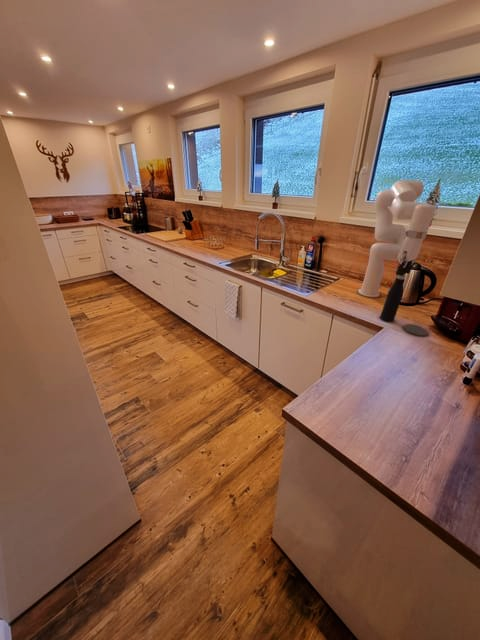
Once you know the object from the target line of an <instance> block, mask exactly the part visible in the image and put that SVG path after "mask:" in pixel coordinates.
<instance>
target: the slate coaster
mask: <svg viewBox="0 0 480 640" xmlns="http://www.w3.org/2000/svg"><path fill="white" fill-rule="evenodd" d="M403 330H404V332H406V333H408V334H410V335H413V336H416V337H426V336H427V335H428V333H429V332H428V330H427V329H426V328H425V327H422V326H420V325H417V324H412V323H411V324H410V323H409V324H408V323H407V324H404V326H403Z"/></svg>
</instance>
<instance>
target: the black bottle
mask: <svg viewBox="0 0 480 640" xmlns="http://www.w3.org/2000/svg"><path fill="white" fill-rule="evenodd" d="M404 264H405V262H404ZM410 265H411V263H409V262H407V265H406V267H405V268H406V269H405V272H404V275H403V276H400V275H397V277H396V278H395V281H394V283H393V285H392V286H391V287H390V289H389V290H388V292H387V295H386V298H385V301H384V304H383V307H382V310H381V313H380V320H381V321H384V322H386V323H393V322H394V321H395V318H396V315H397V312H398V310H399V307H400V304H401V301H402V299H403V296H404V284H405V281H406V277H407V275H406V274H407V273H406V271H408V270H409V267H410Z"/></svg>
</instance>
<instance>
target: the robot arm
mask: <svg viewBox="0 0 480 640" xmlns="http://www.w3.org/2000/svg"><path fill="white" fill-rule="evenodd" d="M423 192H424V183H423V182H422V181H420V180H415V179H414V180H413V179H411V180H410V179H400V180H397V181H395V182H394V183H393V184H392V185H391V187H390V189H383V190H380V191H379V192H378V193H377V194H376V195H375V199H374V212H375V226H374V239H375V240H376V241H378V242H376V243H373V244H372V245H371V246H370V249H369V258H368V263H367V265H366V266H367V267H366V271H365V275H364V278H363V280H362V285H361V288H358V290H357V293H358V294H359V295H361V296H363V297H366V298H378V297H380V291H379V290H380V289H381V283H382V280H383V276H384V273H385V269H386V267H385V264H384V262H383V261H395V262H396V261H398V265H397V269H396V272H395V275H397V276H398V275H400V276H403V275H404V272H405V269H406V268H405V267H406V265H407V262H409V263H411V265H410V267H409V270H408V271H406V274H408V275H409V274H410V273H411V270H412V268H413V265H414V261H415V260H416V259H417V258H418V256H419V254H420V252H421V248H422V244H423V241H424V240H425V239H426V237H427V234H428V232H429V228H430V226H431V223H432V221H433V218H434V215H435V212H436V206H435V205H433V204H429V202H423V201H422V202H419V201H416V200H418V199H420V197H421V196H422V195H423ZM389 207H390V208H389ZM393 218H394V219H396V220H398V221H399V220H401V221H409V225H408V226H407V229H406V227H405V226H404V225H403V224H394V223H393ZM404 262H405V264H404Z"/></svg>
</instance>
